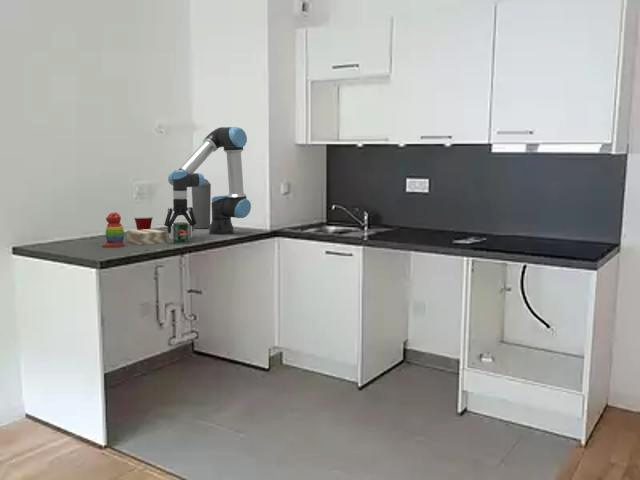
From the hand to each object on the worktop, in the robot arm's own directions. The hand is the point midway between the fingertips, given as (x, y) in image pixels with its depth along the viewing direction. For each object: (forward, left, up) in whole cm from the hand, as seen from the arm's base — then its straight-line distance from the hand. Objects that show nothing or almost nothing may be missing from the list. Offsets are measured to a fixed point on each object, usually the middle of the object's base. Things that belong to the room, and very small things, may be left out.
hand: (180, 238), depth 342 cm
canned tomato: (0, 0, -3) cm, 3 cm away
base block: (+14, -13, -3) cm, 19 cm away
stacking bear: (+34, -9, -3) cm, 35 cm away
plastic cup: (+7, -32, -3) cm, 33 cm away
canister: (-42, -51, -3) cm, 66 cm away
